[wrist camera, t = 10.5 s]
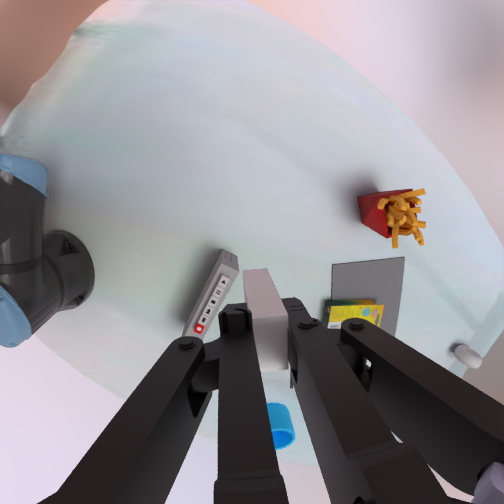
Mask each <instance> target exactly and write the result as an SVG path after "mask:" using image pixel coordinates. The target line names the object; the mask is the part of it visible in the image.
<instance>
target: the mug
mask: <svg viewBox="0 0 504 504" xmlns="http://www.w3.org/2000/svg"><path fill="white" fill-rule="evenodd" d="M267 409H268V414H269V420H270V425H271V430H272V435H273V440H274V446H275V450H278V449H282V448H285V447H287V446H289V445H290V444H292V443H293V442H294V440H295V432H294V429H293V425H292V421H291V418H290V414H289V410H288V409H287V407H286V406H284V405H282V404H279V403H269V404H267Z"/></svg>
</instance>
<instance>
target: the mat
mask: <svg viewBox="0 0 504 504" xmlns="http://www.w3.org/2000/svg"><path fill="white" fill-rule="evenodd" d="M404 261H405V257H399V258H390V259H381V260H372V261H362V262H353V263H343V264H333V265H332V295H331V300H369V299H371V300H372V301H373V302H374V303H375V304H377V305H380V304H385V305H384V309H383V313H382V318H381V322H380V326H379V328H381V329H382V330H384V331H386V332H387V333H389V334H390V335H392V336H394V337H395V332H396V326H397V320H398V313H399V307H400V299H401V291H402V282H403V272H404ZM378 322H379V314H378V315H377V318H376V320H375V325H376V326H377V323H378Z"/></svg>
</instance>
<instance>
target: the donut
mask: <svg viewBox="0 0 504 504" xmlns="http://www.w3.org/2000/svg"><path fill="white" fill-rule="evenodd" d="M454 353H455V356H456V358H457V359H458V360H459V361H460V362H461V363H463V364H464V365H466V366H468V367H470V368H473V369H476V368H478V367H480V365H481V363H482V358H481V356H480V355H479V354H478V353H477V352H475V351H474V350H472V349H471V348H469V347H467V346H464V345H459V346H457V347H456V348H455V352H454Z"/></svg>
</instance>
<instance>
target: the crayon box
mask: <svg viewBox="0 0 504 504" xmlns="http://www.w3.org/2000/svg"><path fill="white" fill-rule="evenodd" d="M384 305H385V304H380V305H377V304H375V303H374V302H373V301H372V300H371V299H369V300H327V301H326V307H325V313H324V318H323V326H324V327H325V328H331V329H341V323H342V322H343V321H344V320H346V319H349V318H354V317H355V318H356V317H357V318H362V319H365V320H368V321H369V322H371V323H373V324H374V325H375V320H376V318H377V315H378V314H379V322H378V323H377V327H379V326H380V322H381V318H382V313H383V309H384Z"/></svg>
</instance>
